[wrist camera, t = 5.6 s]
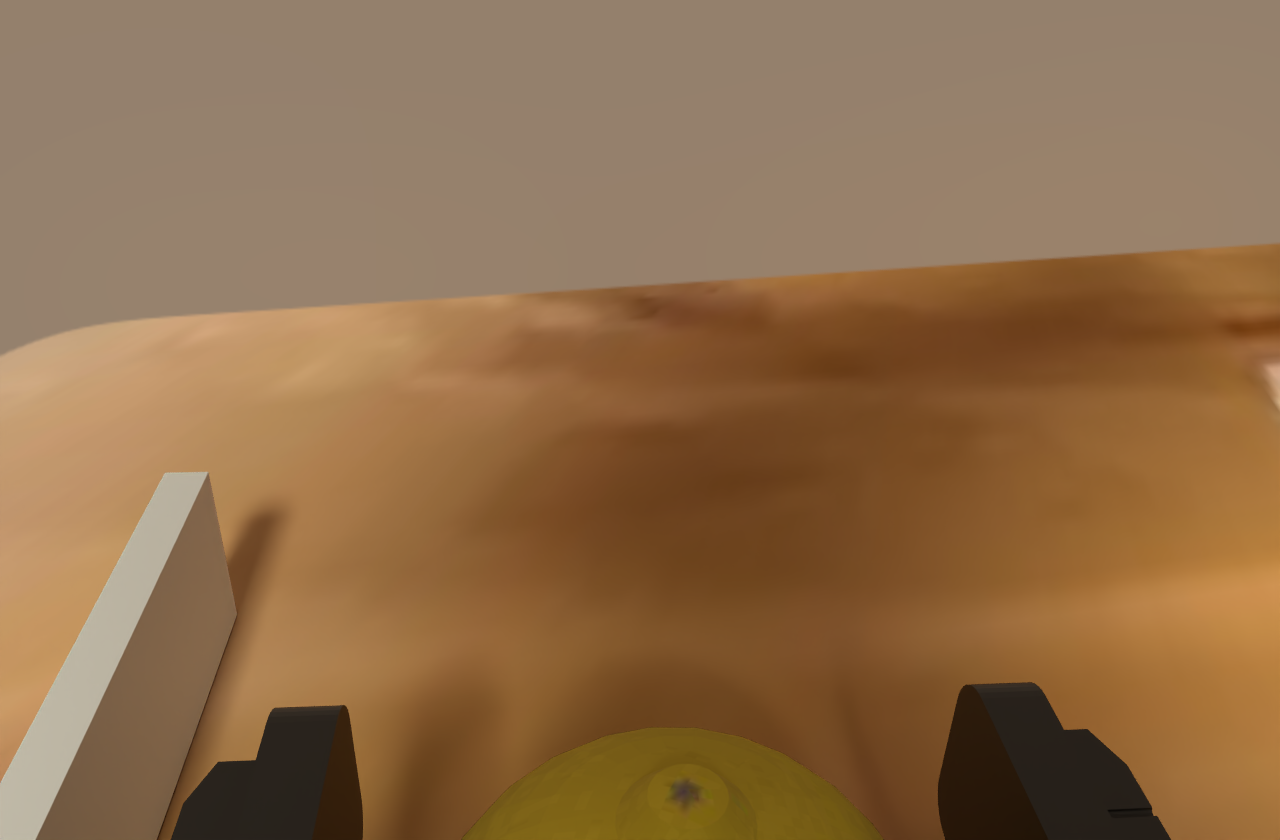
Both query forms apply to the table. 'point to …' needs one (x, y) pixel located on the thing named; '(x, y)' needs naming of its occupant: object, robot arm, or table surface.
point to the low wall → (130, 683)
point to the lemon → (672, 794)
